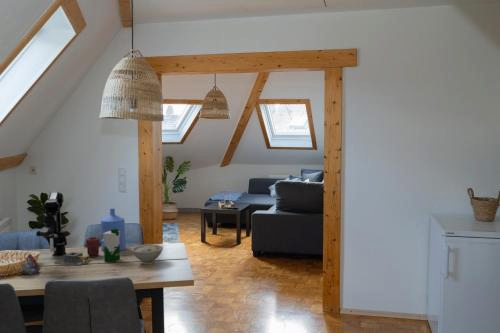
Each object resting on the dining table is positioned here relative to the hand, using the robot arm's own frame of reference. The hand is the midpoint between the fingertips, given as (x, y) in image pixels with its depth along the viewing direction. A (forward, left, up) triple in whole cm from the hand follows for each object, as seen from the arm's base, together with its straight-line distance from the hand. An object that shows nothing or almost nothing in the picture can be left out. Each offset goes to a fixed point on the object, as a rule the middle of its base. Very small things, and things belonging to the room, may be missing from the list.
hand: (53, 247), depth 290 cm
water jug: (+13, +46, -12) cm, 49 cm away
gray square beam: (0, 0, -2) cm, 2 cm away
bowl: (+51, +22, -12) cm, 57 cm away
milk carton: (+27, +21, -12) cm, 36 cm away
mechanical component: (+9, +28, -12) cm, 31 cm away
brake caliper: (-5, -14, -12) cm, 19 cm away
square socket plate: (+5, +12, -12) cm, 17 cm away
